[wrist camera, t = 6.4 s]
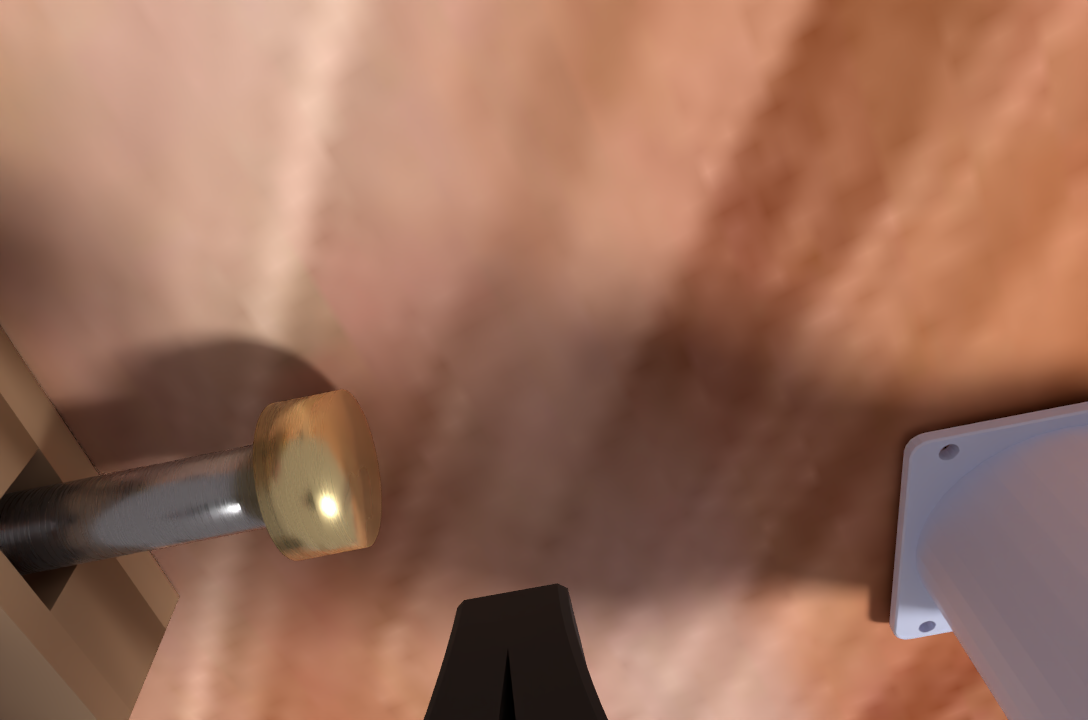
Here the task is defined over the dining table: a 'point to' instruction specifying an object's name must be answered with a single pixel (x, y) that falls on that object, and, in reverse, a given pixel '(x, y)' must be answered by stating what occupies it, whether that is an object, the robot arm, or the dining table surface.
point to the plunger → (215, 495)
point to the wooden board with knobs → (68, 585)
